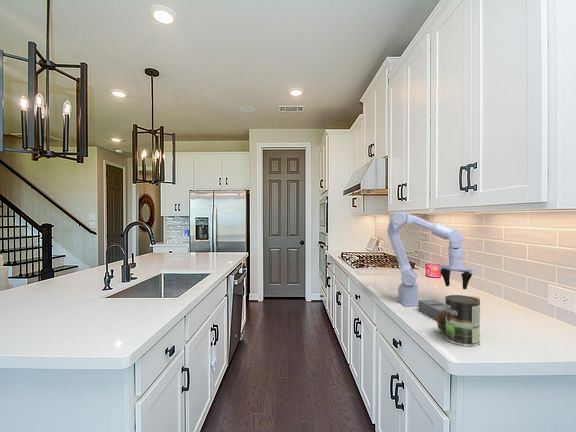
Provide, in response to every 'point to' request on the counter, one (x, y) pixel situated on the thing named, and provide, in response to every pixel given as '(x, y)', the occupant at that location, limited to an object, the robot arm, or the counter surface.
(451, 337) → the coffee can
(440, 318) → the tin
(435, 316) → the dispenser
